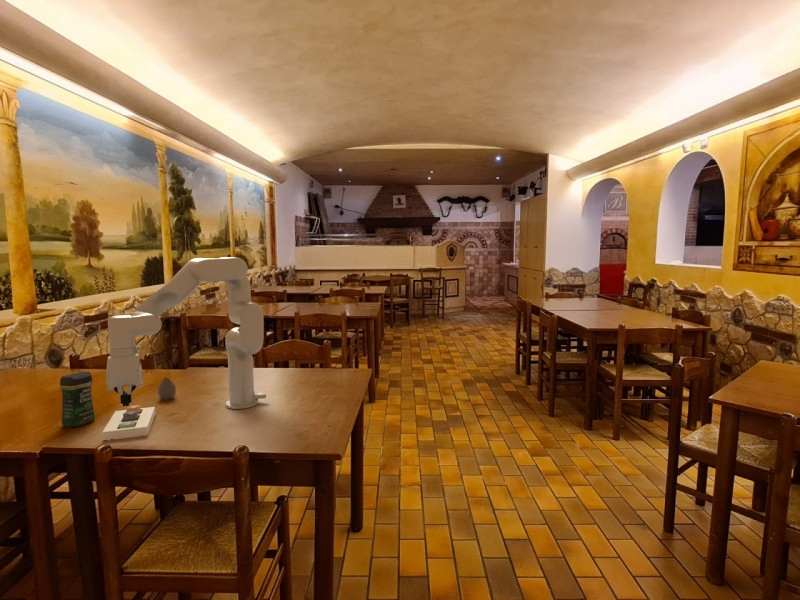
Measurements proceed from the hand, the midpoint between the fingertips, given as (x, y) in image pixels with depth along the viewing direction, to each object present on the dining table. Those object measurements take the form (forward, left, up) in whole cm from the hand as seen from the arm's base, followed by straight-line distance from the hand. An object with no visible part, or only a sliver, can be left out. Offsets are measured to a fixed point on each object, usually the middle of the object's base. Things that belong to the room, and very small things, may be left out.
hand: (126, 405), depth 157 cm
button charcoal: (0, -6, -8) cm, 10 cm away
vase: (-9, -37, -10) cm, 40 cm away
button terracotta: (0, -13, -8) cm, 16 cm away
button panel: (0, -6, -10) cm, 12 cm away
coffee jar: (+18, -17, -10) cm, 27 cm away
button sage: (0, +1, -9) cm, 9 cm away
